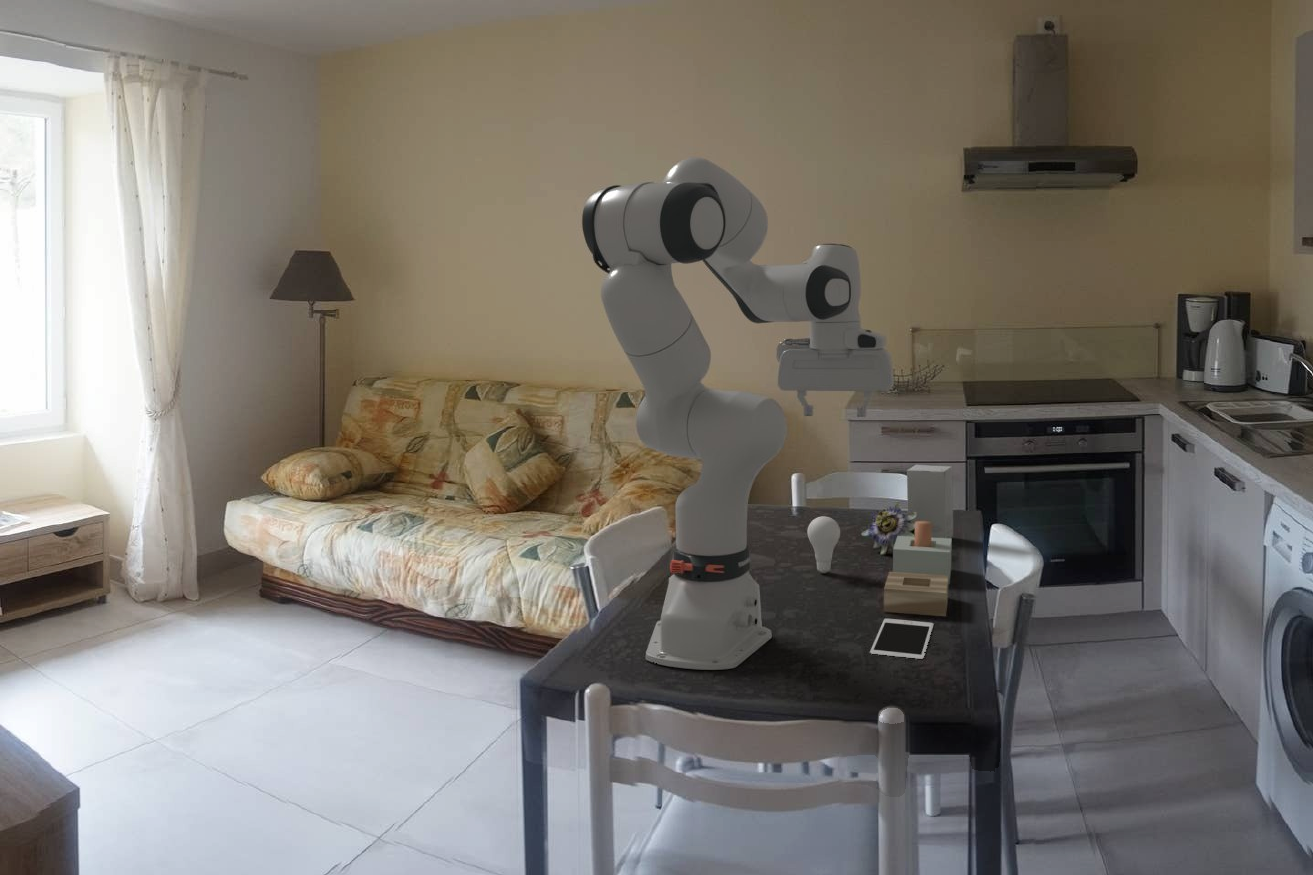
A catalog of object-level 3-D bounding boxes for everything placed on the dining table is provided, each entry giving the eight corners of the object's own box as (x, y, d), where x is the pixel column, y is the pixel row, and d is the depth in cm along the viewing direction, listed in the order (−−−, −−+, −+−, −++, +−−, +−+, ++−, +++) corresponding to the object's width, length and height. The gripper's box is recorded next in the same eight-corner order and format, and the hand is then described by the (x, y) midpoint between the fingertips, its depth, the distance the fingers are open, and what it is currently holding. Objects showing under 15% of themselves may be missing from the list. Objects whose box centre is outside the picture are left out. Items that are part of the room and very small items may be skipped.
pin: (930, 577, 184) (931, 525, 182) (913, 576, 185) (914, 524, 183) (931, 573, 187) (931, 521, 185) (914, 572, 188) (915, 520, 186)
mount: (945, 616, 163) (946, 592, 162) (883, 611, 166) (883, 588, 165) (947, 597, 172) (948, 575, 171) (888, 593, 175) (889, 571, 174)
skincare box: (953, 537, 212) (955, 466, 209) (944, 545, 206) (946, 471, 204) (915, 533, 216) (916, 463, 214) (905, 540, 210) (906, 468, 208)
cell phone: (933, 626, 159) (933, 622, 159) (923, 662, 144) (923, 658, 144) (884, 621, 162) (884, 617, 162) (869, 656, 147) (869, 652, 147)
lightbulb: (839, 578, 185) (839, 520, 183) (806, 577, 186) (806, 520, 184) (840, 569, 191) (840, 513, 189) (808, 568, 192) (808, 512, 190)
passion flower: (884, 580, 201) (849, 532, 202) (903, 558, 209) (870, 511, 210) (927, 557, 194) (890, 507, 195) (945, 535, 202) (910, 487, 203)
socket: (949, 584, 179) (950, 552, 178) (892, 580, 183) (893, 549, 182) (951, 569, 189) (951, 538, 188) (897, 565, 192) (897, 535, 191)
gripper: (772, 339, 174) (773, 417, 176) (891, 338, 168) (891, 419, 170) (779, 337, 180) (780, 413, 182) (895, 336, 174) (894, 414, 176)
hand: (834, 416), depth 176 cm, fingers open, 8 cm apart
